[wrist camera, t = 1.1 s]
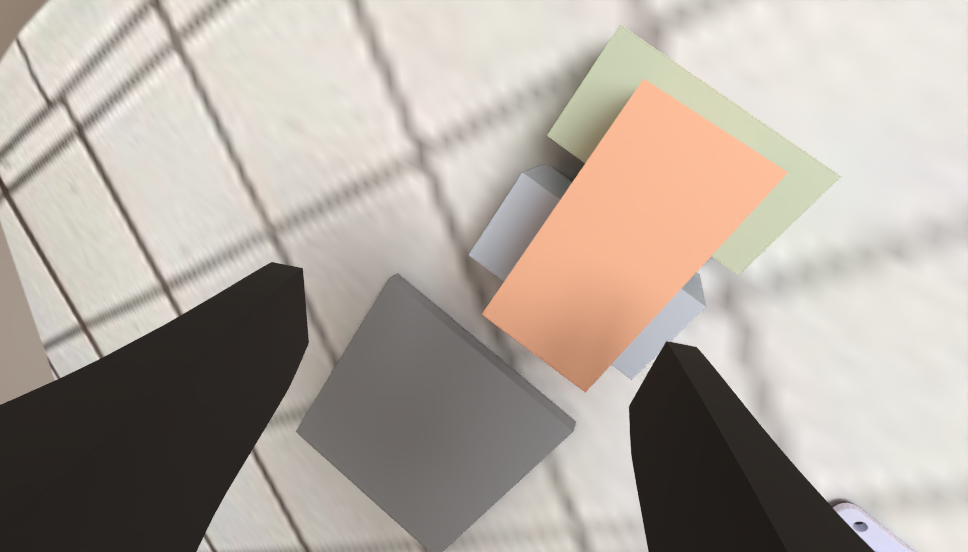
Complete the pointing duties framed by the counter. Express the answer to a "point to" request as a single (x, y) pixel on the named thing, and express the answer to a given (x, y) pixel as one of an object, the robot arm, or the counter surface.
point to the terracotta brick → (629, 234)
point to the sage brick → (638, 60)
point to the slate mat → (429, 418)
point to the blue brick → (521, 225)
